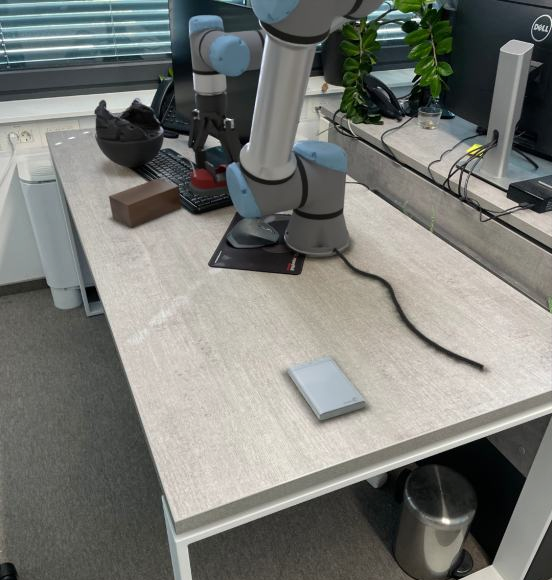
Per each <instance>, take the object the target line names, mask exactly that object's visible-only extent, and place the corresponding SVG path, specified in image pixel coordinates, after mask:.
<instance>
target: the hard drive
mask: <svg viewBox="0 0 552 580" xmlns="http://www.w3.org/2000/svg"><path fill="white" fill-rule="evenodd" d="M287 374H288V376H289V377H290V379H291V380H292V382H293V383H294V385H295V386H296V388H297V389H298V391H299V392H300V394H301V395H302V396H303V398H304V400H305V401H306V402H307V404H308V405H309V407H310V408H311V410H312V411H313V413H314V415H316V417H317V419H318V420H319V421H324V420H327V419H331V418H334V417H337V416H341V415H345V414H348V413H350V412H351V413H352V412H354V411H357V410H360V409H363V408H365V407H366V400H365V398H364V397H363V396H362V395H361V393H360V392H359V391H358V390H357V388H356V387H355V386H354V385H353V383H352V382H351V381H350V380H349V378H348V377H347V376H346V374H345V373H344V372H343V371H342V370H341V368H340V367H339V365H338V364H337V363H336V362H335V361H334V359H333V358H332V357H331V356H325V357H320V358H317V359H313V360H309V361H306V362H302V363H299V364H296V365H293V366H292V365H291V366H289V367H288V368H287Z"/></svg>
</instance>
